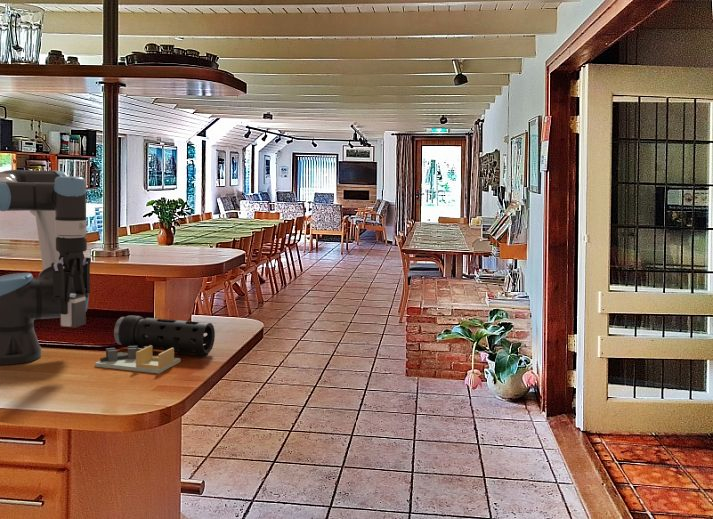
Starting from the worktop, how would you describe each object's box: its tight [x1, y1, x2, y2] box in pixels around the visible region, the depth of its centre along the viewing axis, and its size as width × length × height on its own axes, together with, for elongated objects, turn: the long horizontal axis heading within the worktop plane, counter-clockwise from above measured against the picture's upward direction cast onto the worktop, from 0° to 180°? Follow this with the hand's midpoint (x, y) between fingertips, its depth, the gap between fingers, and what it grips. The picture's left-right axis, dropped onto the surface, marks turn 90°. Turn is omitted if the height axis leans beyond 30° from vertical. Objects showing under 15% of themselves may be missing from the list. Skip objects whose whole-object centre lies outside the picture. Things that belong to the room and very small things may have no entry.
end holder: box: [136, 345, 175, 369], centre depth 191 cm, size 7×8×4 cm
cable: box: [99, 355, 128, 362], centre depth 195 cm, size 13×3×1 cm, turn 107°
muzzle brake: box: [113, 314, 216, 357], centre depth 207 cm, size 10×28×10 cm, turn 78°
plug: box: [59, 293, 87, 329], centre depth 185 cm, size 5×5×8 cm
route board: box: [94, 346, 181, 375], centre depth 194 cm, size 19×12×4 cm, turn 77°
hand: (72, 323), depth 186 cm, fingers closed on plug, 5 cm apart
